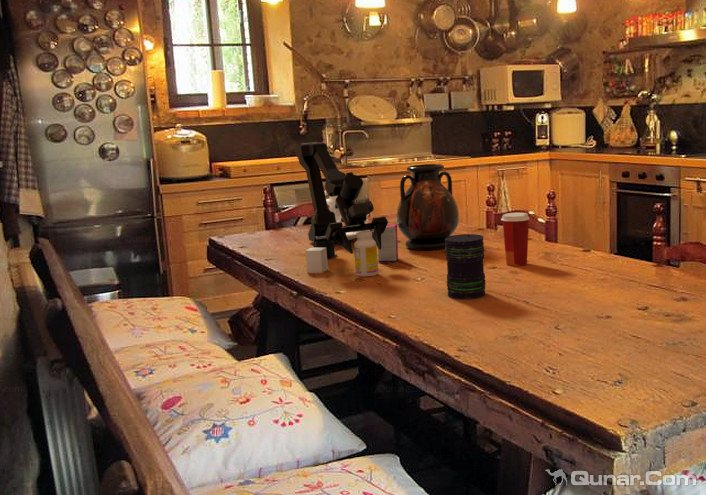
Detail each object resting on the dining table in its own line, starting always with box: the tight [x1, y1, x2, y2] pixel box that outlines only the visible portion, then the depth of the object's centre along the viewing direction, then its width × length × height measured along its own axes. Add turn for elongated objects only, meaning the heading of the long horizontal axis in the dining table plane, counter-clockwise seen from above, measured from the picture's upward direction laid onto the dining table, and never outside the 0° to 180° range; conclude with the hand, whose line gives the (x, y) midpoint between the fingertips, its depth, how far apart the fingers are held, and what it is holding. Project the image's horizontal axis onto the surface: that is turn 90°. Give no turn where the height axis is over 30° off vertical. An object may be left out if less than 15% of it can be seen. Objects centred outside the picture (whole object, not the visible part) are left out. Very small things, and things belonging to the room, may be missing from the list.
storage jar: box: [444, 233, 486, 301], centre depth 194 cm, size 10×10×15 cm
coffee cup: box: [500, 212, 530, 267], centre depth 226 cm, size 8×8×15 cm
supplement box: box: [377, 224, 399, 264], centre depth 244 cm, size 6×6×12 cm
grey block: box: [305, 247, 329, 274], centre depth 236 cm, size 5×5×7 cm
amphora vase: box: [396, 163, 460, 251], centre depth 262 cm, size 22×22×28 cm
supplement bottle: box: [353, 230, 379, 278], centre depth 226 cm, size 7×7×13 cm
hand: (366, 250), depth 225 cm, fingers open, 9 cm apart
